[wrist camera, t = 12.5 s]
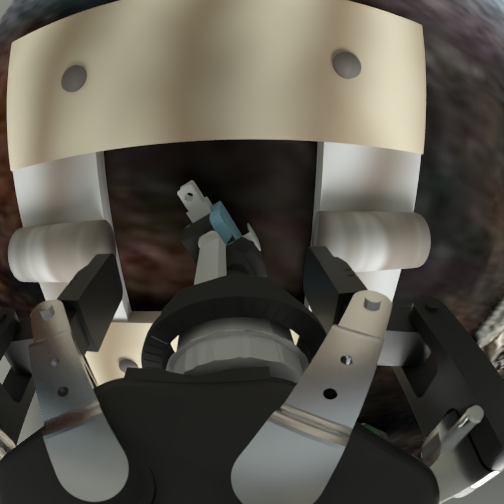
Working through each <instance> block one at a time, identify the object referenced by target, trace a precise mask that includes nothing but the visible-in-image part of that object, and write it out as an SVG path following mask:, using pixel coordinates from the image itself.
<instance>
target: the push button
mask: <svg viewBox="0 0 504 504" xmlns="http://www.w3.org/2000/svg"><path fill="white" fill-rule="evenodd" d="M188 193H192V194H193V196H189V195H188ZM177 194H178V196H179V197H180V199H181V200H182V202H183V203H184V205H185V206H186V208H187V210H188V212H187V213H186V214H187V215H188V217H189V218H190V220H191V222H190V224H189V225H187V226H185V227H184V228H183V231H182V234H181V241H182V243H183V244H184V246H185V247H186V249H187V250H188V251H189V253H190V254H191V256H192V257H193V258H194V261H195V263H196V267H195V282H194V285H192V286H189V287H186V288H183V289H181V290H179V291H178V292H177V294H176V295H175V296H174V297H173V298H172V299H171V300H170V301H169V302H168V304H167V305H166V306H165V307H164V308H163V309H162V312H161V315H160V316H159V317H158V318H157V319H156V320H155V321H154V323H153V324H152V325H151V327H150V329H149V331H148V332H147V335H146V338H145V341H144V344H143V348H142V353H141V364H142V368H149V369H162V370H166V371H170V372H174V373H179V374H184V375H188V376H201V375H206V374H211V373H215V372H220V371H224V370H229V369H233V368H252V367H266V366H269V370H270V376H271V377H277V378H282V379H286V380H289V381H293V382H295V383H298V382H299V380H300V379H301V377H302V375H303V374H304V372H305V371H306V369H307V368H308V366H309V364H310V363H311V361H312V360H313V358H314V356H315V355H316V353H317V351H318V350H319V348H320V346H321V345H322V343H323V341H324V340H325V338H326V336H327V334H326V332H325V330H324V328H323V326H322V324H321V322H320V321H319V320H318V318H317V317H316V316H315V315H314V314H313V313H312V312H311V311H310V310H309V309H308V308H306V307H305V305H303V304H302V303H301V302H299V301H298V300H297V299H296V298H294V297H293V296H292V295H290V294H289V293H288V292H287V291H285V290H284V289H283V288H282V287H280V286H279V285H278V284H276V283H275V282H274V281H273V280H271V279H269V278H266V276H267V272H266V268H265V265H264V261H263V258H262V255H261V253H260V251H261V248H260V244H259V241H258V238H257V236H256V234H255V233H254V231H253V229H252V228H251V226H250V224H249V223H247V226H248V230H249V233H247V234H246V235H244V236H242V234H241V233H240V231H239V229H238V228H237V226H236V225H235V223H234V221H233V220H232V218H231V217H230V215H229V213H228V212H227V210H226V208H225V207H224V205H223V204H222V202H221V201H219V202H217V203H216V204H214V205H212V203H211V202H210V200H209V198H208V197H207V196H206V197H205V198H204V196H203V195H202V193H201V191H200V190H199V188H198V187H197V185H196V184H195V182H194V181H192V180H191V181H189V182H188V183H186V184H185V185H183V186H181V188H180V190H179V191H178V193H177ZM185 198H186V199H187V200H186V199H185ZM290 329H291V330H292V331H294V332H295V333H296V334H298V335H299V338H298V342H297V344H296V345H295V344H294V341H293V338H292V334H291V331H290ZM178 335H179V338H178V344H177V351H176V352H174V350H173V348H172V346H171V342H172V341H173V340H174V339H175V338H176V337H177V336H178Z"/></svg>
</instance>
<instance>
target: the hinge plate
mask: <svg viewBox="0 0 504 504" xmlns="http://www.w3.org/2000/svg"><path fill="white" fill-rule="evenodd" d="M425 120H426V69H425V52H424V40H423V30H422V25H420V24H418V23H416V22H413V21H411V20H408V19H406V18H403V17H400V16H397V15H395V14H392V13H389V12H386V11H383V10H380V9H377V8H373V7H370V6H367V5H363V4H360V3H356V2H352V1H348V0H120V1H116V2H112V3H108V4H105V5H101V6H98V7H95V8H91V9H88V10H85V11H82V12H79V13H77V14H74V15H71V16H68V17H66V18H63V19H61V20H58V21H56V22H53V23H51V24H49V25H46V26H44V27H42V28H40V29H38V30H35V31H33V32H31V33H29V34H27V35H25V36H23V37H21V38H19V39H18V40H16V41H14V42H12V45H11V52H10V61H9V71H8V85H7V135H8V149H9V160H10V169H11V171H13V176H14V183H15V189H16V195H17V201H18V206H19V211H20V216H21V220H22V225H23V228H20V229H18V230H16V231H15V232H14V234H13V235H12V237H11V240H10V243H9V248H8V260H9V265H10V268H11V271H12V273H13V274H14V276H15V277H16V278H17V279H18V280H20V281H22V282H39V283H40V286H41V289H42V291H43V294H44V297H45V299H46V301H47V300H56V299H57V298H58V297H59V295H60V294H61V293H62V291H63V290H64V289H65V287H66V286H67V285H69V282H70V281H71V280H72V279H73V277H74V276H75V275H76V273H77V272H78V271H79V270H81V269H82V268H84V267H85V266H87V265H88V264H89V263H90V261H91V260H92V259H93V258H94V257H95V255H96V254H108V253H113V254H114V255H115V257H116V260H117V265H118V269H119V274H120V278H121V282H122V286H123V297H122V301H121V303H120V305H119V307H118V309H117V311H116V313H115V315H114V318H113V320H112V322H111V324H110V326H109V329H108V331H107V333H106V335H105V338H104V340H103V342H102V345H101V347H100V349H99V352H90V351H87V352H86V354H85V356H86V358H87V360H88V363H89V365H90V367H91V370H92V372H93V374H94V376H95V378H96V381H97V383H98V385H101V384H103V383H105V382H108V381H111V380H114V379H118V378H124V376H125V372H126V369H127V367H131V368H142V364H141V353H142V348H143V344H144V341H145V338H146V335H147V332H148V331H149V329H150V327H151V325H152V324H153V323H154V321H155V320H156V319H157V318H158V317H159V316H160V315H161V312H162V311H132V310H131V306H130V303H129V299H128V295H127V291H126V287H125V283H124V279H123V274H122V270H121V265H120V261H119V256H118V251H117V246H116V241H115V235H114V230H113V224H112V218H111V211H110V205H109V197H108V190H107V181H106V172H105V162H104V151H105V150H112V149H119V148H126V147H134V146H142V145H151V144H161V143H173V142H186V141H203V140H229V139H277V140H304V141H318V143H317V165H316V183H315V198H314V211H313V224H312V236H311V246H310V247H312V246H326V247H327V248H328V250H329V251H330V252H331V254H332V255H333V256H334V257H339V258H340V259H342V260H344V261H345V262H347V263H348V264H349V266H350V267H351V268H352V270H353V271H354V272H355V273H356V276H358V277H359V279H360V280H361V281H362V282H363V284H364V285H365V286H366V288H367V289H368V290H371V291H376V292H379V293H381V294H383V295H385V296H387V297H388V298H389V299H390V301H391V302H392V300H393V297H394V293H395V290H396V286H397V283H398V279H399V275H400V271H401V269H406V268H417V267H420V266H421V265H423V264H424V262H425V261H426V259H427V257H428V255H429V251H430V245H431V238H430V231H429V228H428V225H427V223H426V221H425V219H424V218H423V217H422V216H421V215H420V214H418V213H413V211H414V205H415V199H416V192H417V185H418V178H419V169H420V160H421V154H423V151H424V138H425ZM304 305H305V307H306V308H308V309H309V310H310V311H311V312H312V310H311V308H310V306H309V303H308V301H307V299H306V297H305V301H304ZM290 331H291V334H292V338H293V341H294V344H295V345H296V344H297V342H298V338H299V335H298V334H296V333H295V332H294V331H292V330H291V329H290ZM178 338H179V335H178V336H177V337H176V338H175V339H174V340H173V341H172V342H171V346H172V348H173V350H174V352H176V351H177V344H178Z"/></svg>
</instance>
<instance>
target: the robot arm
mask: <svg viewBox="0 0 504 504" xmlns="http://www.w3.org/2000/svg"><path fill="white" fill-rule="evenodd" d="M303 290H304V294H305V297H306V299H307V301H308V303H309V306H310V308H311V310H312V313H313V314H314V315H315V316H316V317H317V318H318V320H319V321H320V322H321V324H322V326H323V328H324V330H325V332H326V334H327V336H326V338H325V340H324V341H323V343H322V345H321V346H320V348H319V350H318V351H317V353H316V355H315V356H314V358H313V360H312V361H311V363H310V364H309V366H308V368H307V369H306V371H305V372H304V374H303V375H302V377H301V379H300V380H299V382H298V383H295V382H293V381H289V380H286V379H282V378H277V377H271V376H270V370H269V366H266V367H252V368H233V369H229V370H224V371H220V372H215V373H211V374H206V375H201V376H188V375H184V374H179V373H174V372H170V371H166V370H162V369H149V368H131V367H127V369H126V372H125V376H124V378H118V379H114V380H111V381H108V382H105V383H103V384H101V385H98V383H97V381H96V378H95V376H94V374H93V372H92V370H91V367H90V365H89V363H88V360H87V358H86V356H85V354H86V352H87V351H90V352H99V349H100V347H101V345H102V342H103V340H104V338H105V335H106V333H107V331H108V329H109V326H110V324H111V322H112V320H113V318H114V315H115V313H116V311H117V309H118V307H119V305H120V303H121V301H122V297H123V286H122V282H121V278H120V274H119V269H118V265H117V260H116V257H115V255H114V254H113V253H108V254H96V255H95V257H94V258H93V259H92V260H91V261H90V263H89V264H88V265H87V266H85V267H84V268H82V269H81V270H79V271H78V272H77V273H76V275H75V276H74V277H73V279H72V280H71V281H70V282H69V285H67V286H66V287H65V289H64V290H63V291H62V293H61V294H60V295H59V297H58V298H57V299H56V300H47V301H44V302H42V303H40V304H39V305H37V306H36V307H35V308H34V309H33V310H32V312H31V317H27V318H22V319H18V317H17V315H16V313H15V311H14V309H12V308H3V309H0V360H1V359H2V357H3V355H4V356H5V357H6V359H7V360H8V362H9V364H10V365H11V369H10V370H9V372H8V374H7V376H6V378H5V380H4V382H3V384H1V383H0V504H440V503H442V502H444V501H446V500H448V499H450V498H452V497H456V498H458V497H459V498H460V497H464V496H466V495H467V494H469V493H471V492H472V491H474V490H475V489H477V488H478V487H480V486H482V485H483V484H484V483H486V482H487V481H489V480H490V479H492V478H493V477H494V476H496V475H497V474H498V473H500V472H501V471H502V470H504V380H503V379H502V377H501V376H500V375H499V373H498V372H497V370H496V369H495V367H494V366H493V365H492V363H491V362H490V361H489V359H488V358H487V356H486V355H485V354H484V352H483V351H482V350H481V348H480V347H479V346H478V345H477V343H476V342H475V341H474V339H473V338H472V337H471V336H470V334H469V333H468V332H467V331H466V329H465V328H464V327H463V326H462V324H461V323H460V322H459V321H458V320H457V318H456V317H455V316H454V315H453V314H452V313H451V311H450V310H449V309H448V308H447V307H446V306H445V304H444V303H442V302H441V301H439V300H438V299H435V298H433V297H429V296H420V297H417V298H416V299H415V300H414V302H413V305H412V307H411V308H401V307H393V306H392V302H391V301H390V299H389V298H388V297H387V296H385V295H383V294H381V293H379V292H376V291H371V290H368V289H367V288H366V286H365V285H364V284H363V282H362V281H361V280H360V279H359V277H358V276H356V273H355V272H354V271H353V270H352V268H351V267H350V266H349V264H348V263H347V262H345V261H344V260H342V259H340V258H339V257H334V256H333V255H332V254H331V252H330V251H329V250H328V248H327V247H326V246H312V247H307V250H306V256H305V267H304V277H303ZM431 352H432V354H433V355H434V357H435V358H436V360H437V364H438V371H436V370H435V368H434V366H433V365H432V363H431V361H430V360H429V358H428V356H429V355H430V353H431ZM377 365H386V366H392V368H393V370H394V372H395V374H396V376H397V378H398V380H399V382H400V384H401V387H402V389H403V391H404V393H405V395H406V397H407V399H408V401H409V404H410V406H411V408H412V410H413V412H414V415H415V417H416V419H417V421H418V424H419V426H420V428H421V431H422V433H423V435H424V438H425V439H424V441H423V443H422V446H421V454H422V458H421V460H420V459H419V458H417V457H416V456H414V455H412V454H410V453H408V452H407V451H405V450H403V449H401V448H400V447H398V446H396V445H394V444H393V443H391V442H389V441H388V440H386V439H384V438H383V437H381V436H379V435H378V434H376V433H374V432H373V431H371V430H370V429H368V428H366V427H365V426H363V425H362V424H360V423H358V422H357V421H356V420H357V418H358V415H359V413H360V410H361V408H362V405H363V403H364V400H365V398H366V395H367V392H368V389H369V387H370V384H371V381H372V378H373V375H374V372H375V369H376V366H377ZM35 391H36V394H37V398H38V403H39V407H40V411H41V415H42V418H43V422H44V426H43V427H42V428H40V429H39V430H38V431H36V432H35V433H34V434H32V435H31V436H30V437H28V438H27V439H26V440H24V441H23V442H21V443H20V444H19V445H17V446H16V444H17V441H18V438H19V434H20V431H21V429H22V425H23V423H24V420H25V417H26V414H27V411H28V409H29V406H30V403H31V401H32V398H33V396H34V393H35Z"/></svg>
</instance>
